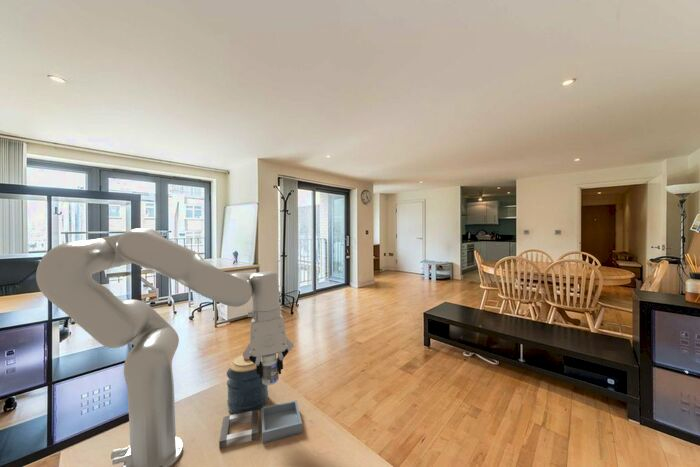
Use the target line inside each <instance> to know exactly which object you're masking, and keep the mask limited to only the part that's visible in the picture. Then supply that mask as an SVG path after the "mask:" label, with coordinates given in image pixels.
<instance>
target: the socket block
mask: <svg viewBox="0 0 700 467" xmlns="http://www.w3.org/2000/svg"><path fill="white" fill-rule="evenodd" d="M249 422H251V428H250V429H246V430H243V431H238V432H234V433H230V434H229V432H230V426H231V427H232V426H235V425H236V426H237V425H240V424H243V423H249ZM221 424H222V425H221V429H220V435H219V440H218V442H219V443H218V444H219V446H218V447H219V448H218V449H223V448H224V449H225V448H228V447H232V446H236V445H240V444H244V443H247V442H253V441H257V440H259V410H253V411H249V412H244V413H240V414H230V415H227V416H223V418H222V423H221Z"/></svg>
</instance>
